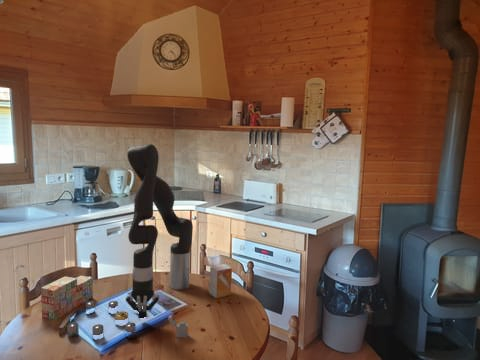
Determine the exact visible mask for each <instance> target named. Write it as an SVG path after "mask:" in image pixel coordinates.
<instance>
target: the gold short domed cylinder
mask: <svg viewBox="0 0 480 360" xmlns="http://www.w3.org/2000/svg"><path fill="white" fill-rule="evenodd" d="M127 318H128V319H129V312H127V311H118V312H117V313H116V314H114V321H115V320H125V319H127Z"/></svg>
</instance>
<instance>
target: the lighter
mask: <svg viewBox="0 0 480 360" xmlns="http://www.w3.org/2000/svg"><path fill="white" fill-rule="evenodd" d="M167 319H168V322H169V323H170V325H171V327H172V329H174V328H175V334H176V335H175V337H176V338H177V339H178V338H179V339H180V338H181V339H182V338H188V335H189V334H188V333H189V328H188V327H189V323H187V322H185V321H179V323H177V322H176V320H175V319H174V316H173V315H172V314H171V315H169V316H168V317H167Z"/></svg>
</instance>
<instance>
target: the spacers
mask: <svg viewBox="0 0 480 360" xmlns="http://www.w3.org/2000/svg"><path fill="white" fill-rule="evenodd" d="M134 302H135V303H136V304H137V302H136V301H134ZM84 305H85V306H84V307H85V308H84V309H91V308H94V307H95V308H96V301H95V300H88V301H86V302H84ZM116 306H118V307H119V302H118V301H117V300H112V301H109V302H108V308H109V307H111V308H115V307H116ZM142 306H143V303H142ZM79 327H80V326H79V322H71V323H70V324H68V325H67V329H66V331H67V338H68V339H75V338H78V337H79ZM135 329H137V328H136V323H135V322H128V323H127V324H126V325H125V326H124V332H125V331H127V332H131V333H132V334H131V335H130V336H129V338H128V339H133V338H135V337H136V333H135V332H134V331H135ZM102 333H103V334H104V325H103V324H95V325H93V326H92V336H93V335H100V334H102Z"/></svg>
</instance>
